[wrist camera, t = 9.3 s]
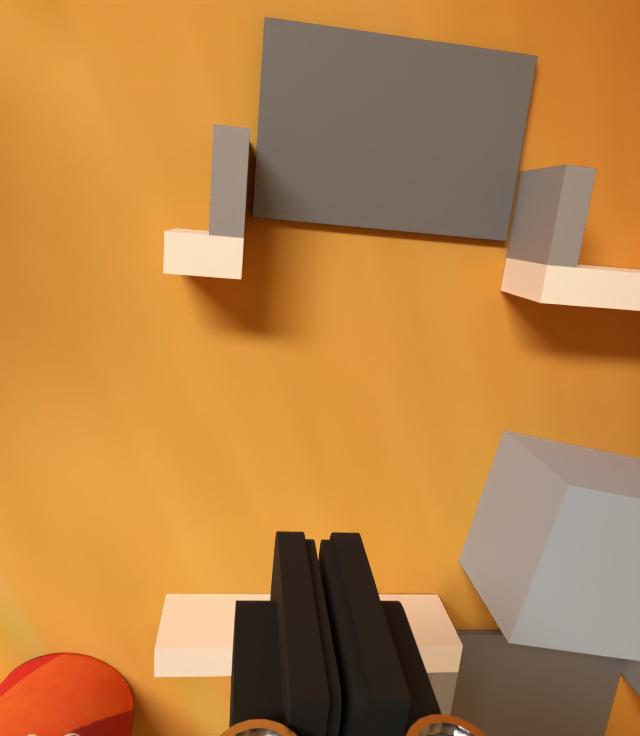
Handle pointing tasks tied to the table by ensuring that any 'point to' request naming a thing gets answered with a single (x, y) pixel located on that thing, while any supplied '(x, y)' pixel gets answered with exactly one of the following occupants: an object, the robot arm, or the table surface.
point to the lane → (422, 215)
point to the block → (559, 547)
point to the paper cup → (65, 698)
